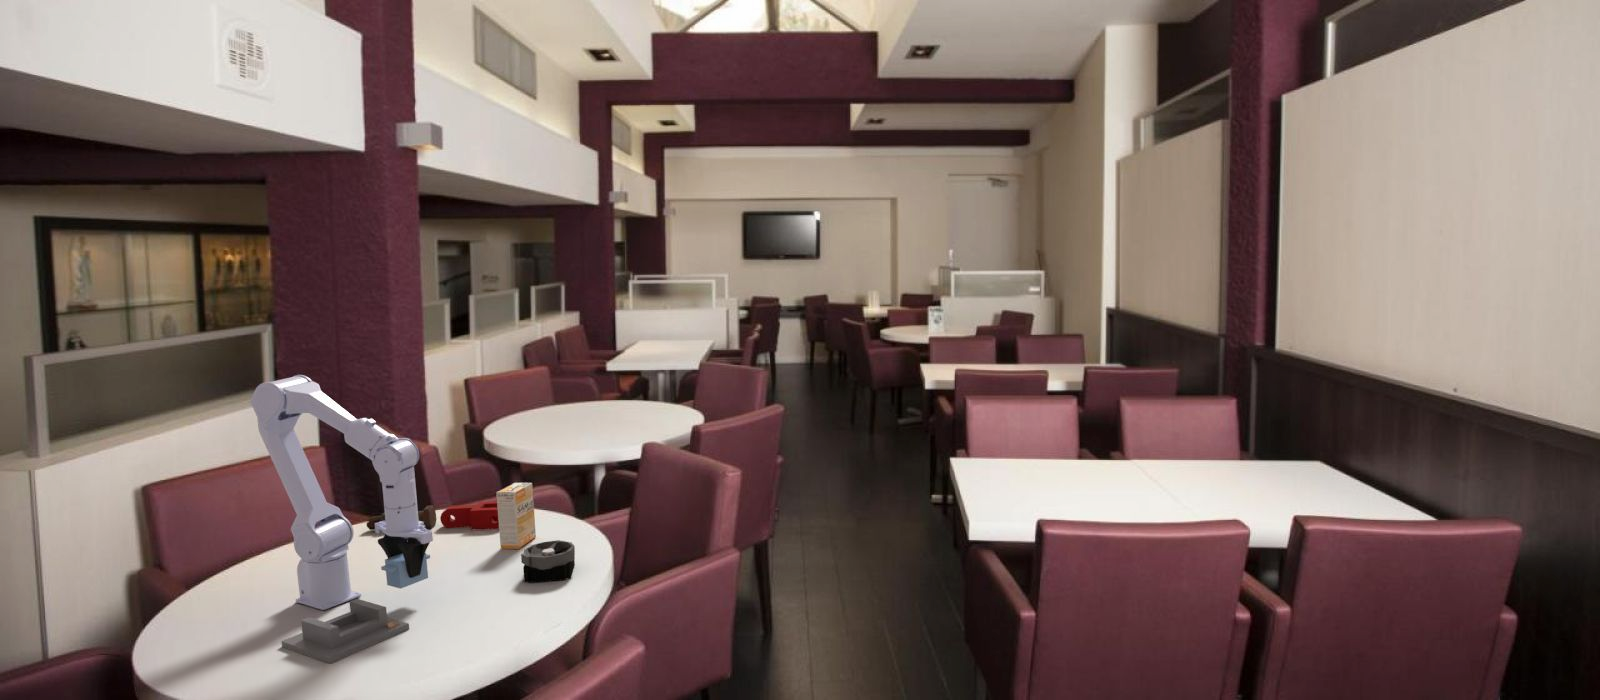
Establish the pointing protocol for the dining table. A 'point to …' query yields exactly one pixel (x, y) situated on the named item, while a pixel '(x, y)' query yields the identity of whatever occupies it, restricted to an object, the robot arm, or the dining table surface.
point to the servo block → (402, 571)
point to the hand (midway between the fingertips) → (407, 573)
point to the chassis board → (345, 632)
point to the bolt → (425, 516)
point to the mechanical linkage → (472, 516)
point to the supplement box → (516, 515)
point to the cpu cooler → (548, 561)
